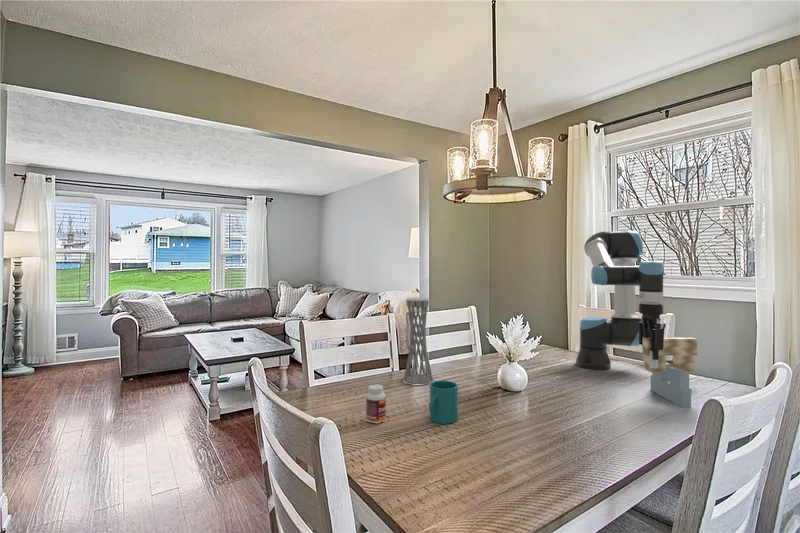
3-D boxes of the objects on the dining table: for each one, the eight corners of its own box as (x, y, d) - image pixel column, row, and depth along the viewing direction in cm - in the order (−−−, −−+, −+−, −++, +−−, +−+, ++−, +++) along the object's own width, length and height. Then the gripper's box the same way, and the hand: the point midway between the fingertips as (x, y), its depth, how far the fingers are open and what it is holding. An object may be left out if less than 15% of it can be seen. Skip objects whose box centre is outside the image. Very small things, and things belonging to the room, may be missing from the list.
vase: (439, 379, 173) (439, 298, 172) (424, 387, 162) (424, 301, 161) (412, 374, 180) (412, 296, 180) (396, 382, 169) (395, 299, 168)
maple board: (647, 371, 146) (647, 339, 146) (642, 369, 149) (642, 337, 149) (697, 371, 146) (697, 338, 146) (691, 369, 149) (691, 337, 149)
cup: (418, 422, 127) (418, 387, 127) (440, 411, 136) (440, 378, 136) (442, 430, 121) (442, 393, 121) (463, 418, 131) (463, 384, 130)
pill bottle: (381, 425, 125) (381, 390, 125) (363, 423, 127) (363, 388, 127) (388, 418, 131) (388, 384, 131) (370, 415, 133) (370, 382, 133)
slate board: (650, 390, 157) (650, 359, 157) (658, 390, 157) (658, 359, 157) (682, 407, 139) (682, 372, 139) (691, 407, 139) (691, 372, 139)
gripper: (628, 300, 155) (628, 361, 156) (654, 305, 139) (653, 372, 140) (647, 300, 155) (647, 361, 156) (676, 305, 139) (675, 372, 140)
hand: (650, 366), depth 148 cm, fingers closed on maple board, 3 cm apart
